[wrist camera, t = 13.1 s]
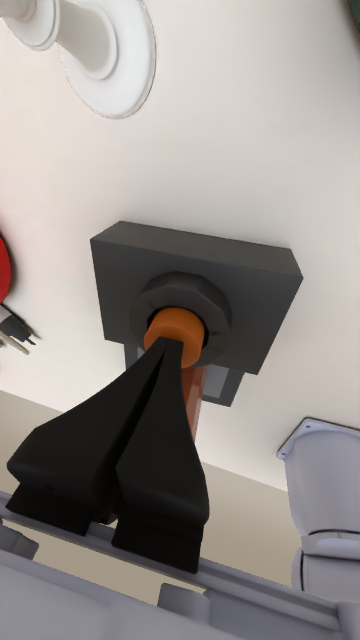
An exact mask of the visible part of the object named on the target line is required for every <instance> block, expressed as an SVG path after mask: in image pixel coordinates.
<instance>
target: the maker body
mask: <svg viewBox="0 0 360 640" xmlns="http://www.w3.org/2000/svg"><path fill="white" fill-rule="evenodd" d="M90 244H91V251H92V257H93V264H94V271H95V277H96V284H97V291H98V298H99V304H100V311H101V318H102V324H103V331H104V338H105V340H109V341H113V342H117V343H122V344H126V345H130V346H134V347H139V348H141V349H142V350H143V351H144V352H145V351H146V349H145V346H144V337H145V335H146V333H147V331H148V329H149V327H150V325H151V323H152V321H153V319H154V317H155V316H156V314H157V313H158V312H160V311H161V310H163V309H165V308H169V307H179V308H184V309H187V310H189V311H191V312H192V313H194V314H195V315H196V316H197V317H198V318H199V319H200V320H201V322H202V323H203V326H204V331H205V333H204V339H203V343H202V348H201V353H200V356H199V358H198V360H197V361H196V362H195V363H194V364H193V365H191V366H189V367H185V368H193V367H200V366H207V365H209V364H212V365H216V366H220V367H225V368H229V369H233V370H237V371H242V372H246V373H250V374H255V375H258V373H259V371H260V369H261V367H262V364H263V362H264V360H265V358H266V356H267V354H268V352H269V350H270V348H271V345H272V343H273V341H274V339H275V337H276V335H277V333H278V331H279V329H280V326H281V324H282V322H283V320H284V318H285V316H286V314H287V312H288V310H289V308H290V305H291V303H292V301H293V299H294V297H295V295H296V293H297V291H298V289H299V286H300V284H301V282H302V280H303V275H302V273H301V271H300V269H299V266H298V264H297V262H296V260H295V257H294V255H293V253H292V251H291V249H285V248H279V247H273V246H267V245H261V244H255V243H249V242H243V241H237V240H231V239H225V238H219V237H213V236H207V235H201V234H195V233H189V232H183V231H177V230H171V229H166V228H160V227H154V226H148V225H142V224H136V223H130V222H124V221H119V222H118V223H116V224H114V225H113V226H111V227H109V228H108V229H106V230H104V231H103V232H101V233H99V234H98V235H96V236H94V237H93V238H91V239H90ZM185 368H184V369H185Z"/></svg>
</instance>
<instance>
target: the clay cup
mask: <svg viewBox="0 0 360 640" xmlns="http://www.w3.org/2000/svg"><path fill="white" fill-rule="evenodd" d="M181 370H182V385H183V393H184V400H185V406H186V411H187V416H188V420H189V424H190V428H191V432H192V436H193V440H194V442H195V436H196V430H197V425H198V419H199V413H200V407H201V401H202V395H203V389H204V383H205V377H206V368H205V366H200V367H193V368H185V369H184V368H181Z"/></svg>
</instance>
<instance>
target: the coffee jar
mask: <svg viewBox="0 0 360 640" xmlns="http://www.w3.org/2000/svg"><path fill="white" fill-rule="evenodd" d="M348 2H349V6H350V10H351V13H352V15H353V17H354V20H355V23H356V25H357V28H358V31H359V33H360V0H348Z"/></svg>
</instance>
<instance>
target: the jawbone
mask: <svg viewBox="0 0 360 640" xmlns="http://www.w3.org/2000/svg"><path fill="white" fill-rule="evenodd" d="M0 339H1V340H3V341H5V342H6V343H8V344H10V345H12V346H14V347H15V348H17V349H19V350H20V351H22V352H23V353H25V354H26V355H28V354H29V353H28V352H27V351H26V350H25V349H23V348H22V347H21V346H20V345H19V344H17V343H16V342H15V341H14V340H12V339H11V338H10V337H8V336H7V335H5V334H4V333H3V332H1V331H0Z"/></svg>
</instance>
